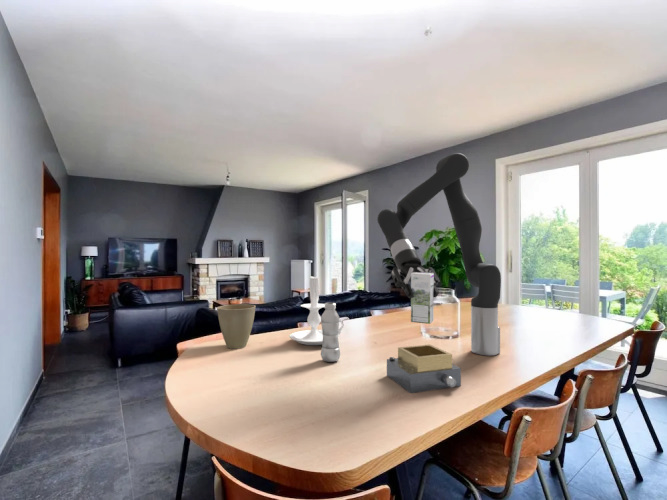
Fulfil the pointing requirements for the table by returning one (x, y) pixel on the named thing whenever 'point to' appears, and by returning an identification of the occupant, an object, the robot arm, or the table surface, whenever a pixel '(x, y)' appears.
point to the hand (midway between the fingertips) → (424, 296)
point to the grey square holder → (423, 369)
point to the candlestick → (312, 318)
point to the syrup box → (422, 297)
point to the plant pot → (236, 324)
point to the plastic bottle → (330, 333)
